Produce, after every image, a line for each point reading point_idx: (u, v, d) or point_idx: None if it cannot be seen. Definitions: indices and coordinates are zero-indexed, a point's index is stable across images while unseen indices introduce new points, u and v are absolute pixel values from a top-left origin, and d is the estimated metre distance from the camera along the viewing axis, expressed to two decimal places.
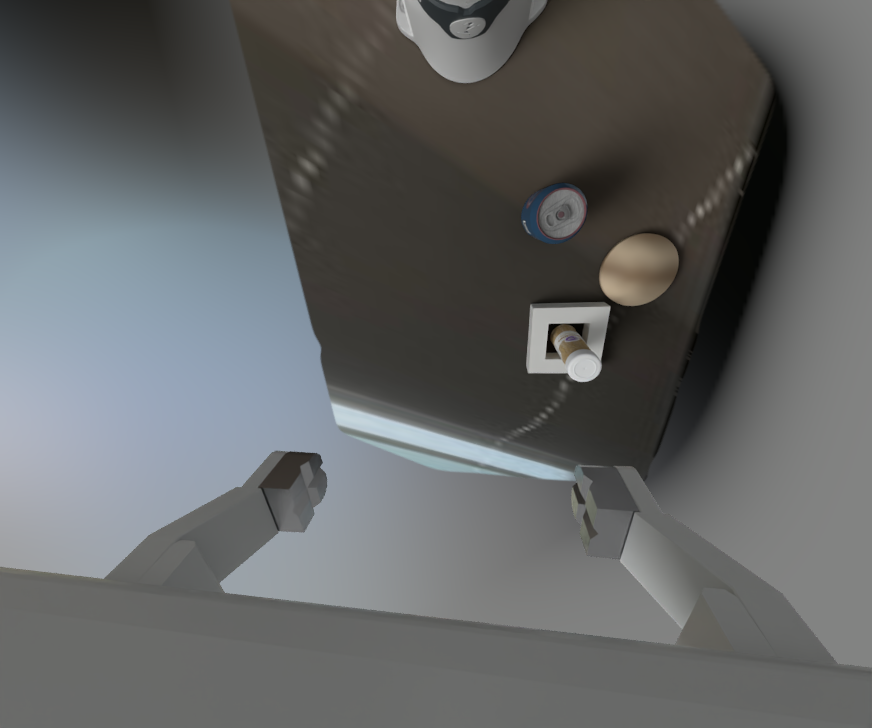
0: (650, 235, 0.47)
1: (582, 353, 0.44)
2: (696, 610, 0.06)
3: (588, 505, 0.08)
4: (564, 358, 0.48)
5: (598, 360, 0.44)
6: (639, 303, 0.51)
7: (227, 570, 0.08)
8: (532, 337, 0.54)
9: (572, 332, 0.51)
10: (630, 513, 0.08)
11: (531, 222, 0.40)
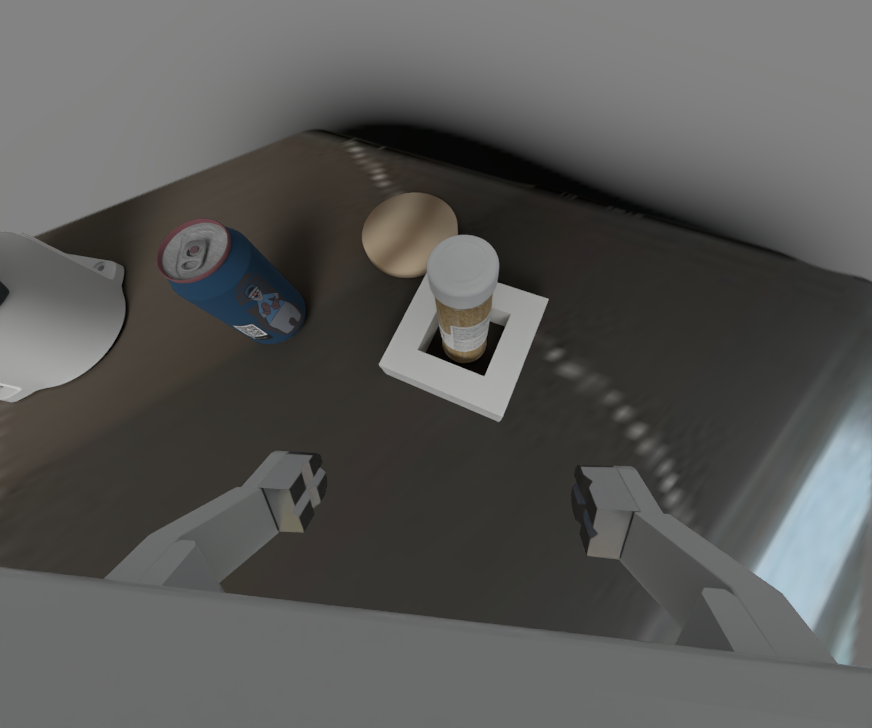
0: (371, 214, 0.37)
1: (427, 262, 0.20)
2: (696, 610, 0.06)
3: (588, 505, 0.08)
4: (449, 313, 0.22)
5: (454, 237, 0.20)
6: (454, 235, 0.35)
7: (227, 570, 0.08)
8: (429, 383, 0.28)
9: None
10: (630, 513, 0.08)
11: (189, 296, 0.24)
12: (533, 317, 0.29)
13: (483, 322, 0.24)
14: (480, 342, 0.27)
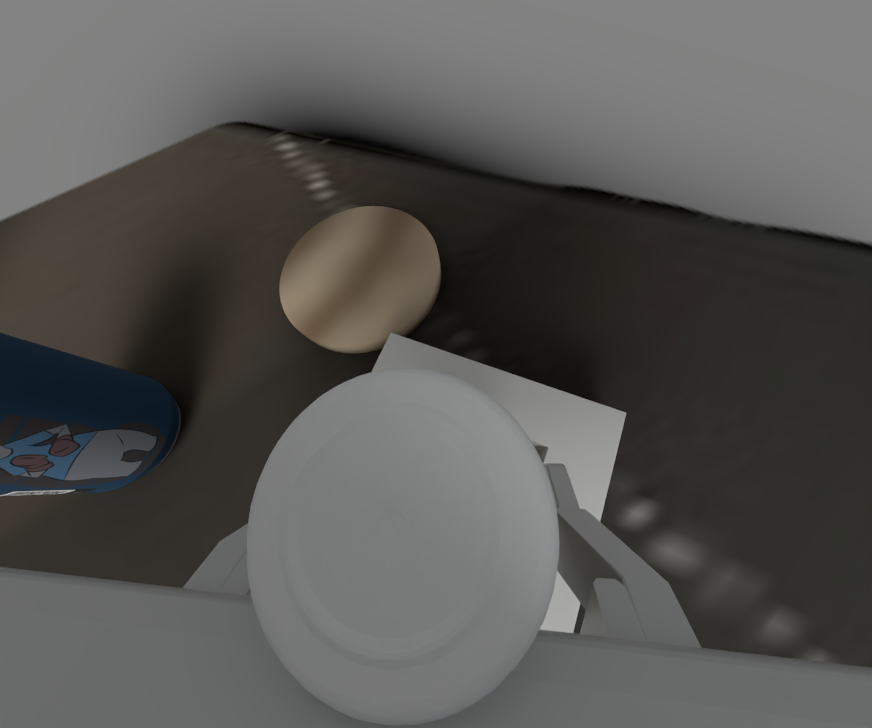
0: (297, 245, 0.22)
1: (259, 488, 0.05)
2: (590, 599, 0.06)
3: None
4: None
5: (365, 381, 0.05)
6: (433, 277, 0.20)
7: None
8: None
9: None
10: None
11: None
12: (596, 455, 0.14)
13: None
14: None
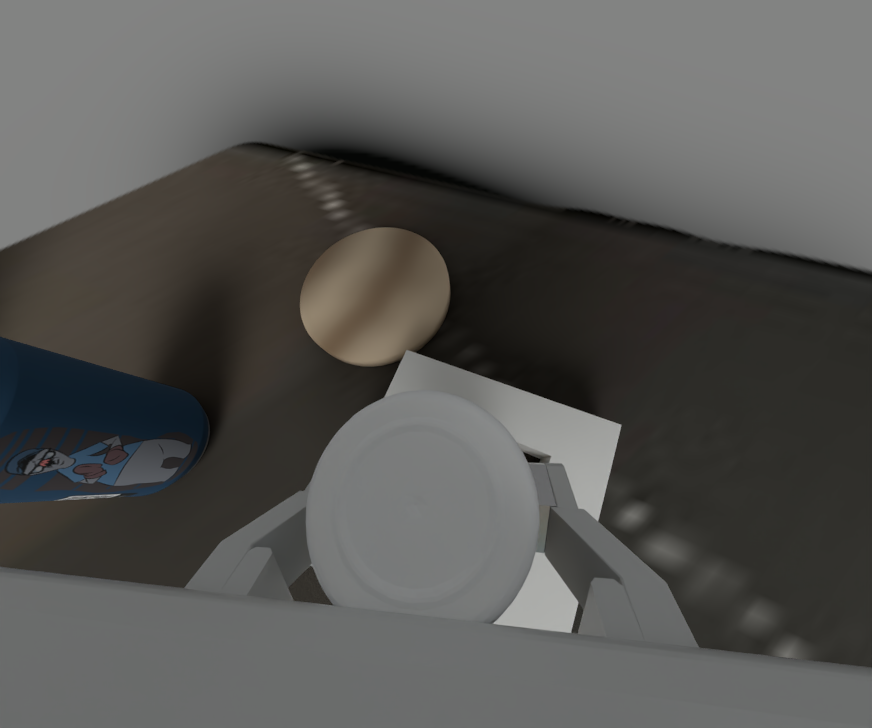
0: (316, 264, 0.24)
1: (310, 488, 0.06)
2: (588, 599, 0.06)
3: None
4: None
5: (389, 402, 0.07)
6: (444, 296, 0.22)
7: (292, 577, 0.08)
8: None
9: None
10: (550, 508, 0.08)
11: None
12: (595, 463, 0.15)
13: None
14: None
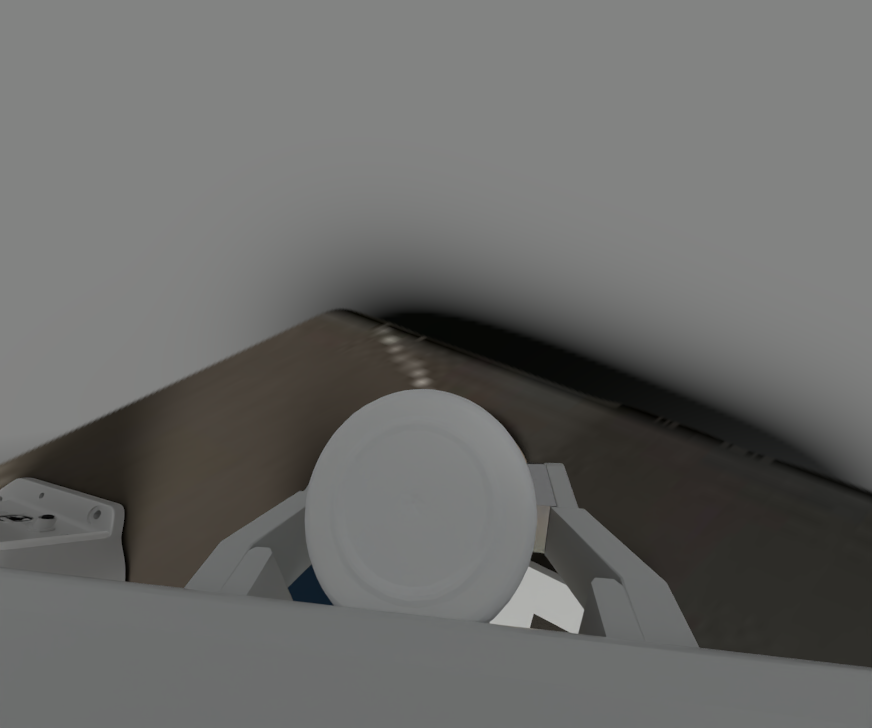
0: None
1: (310, 487, 0.06)
2: (589, 599, 0.06)
3: None
4: None
5: (388, 401, 0.07)
6: None
7: (292, 577, 0.08)
8: None
9: None
10: (550, 508, 0.08)
11: None
12: None
13: None
14: None
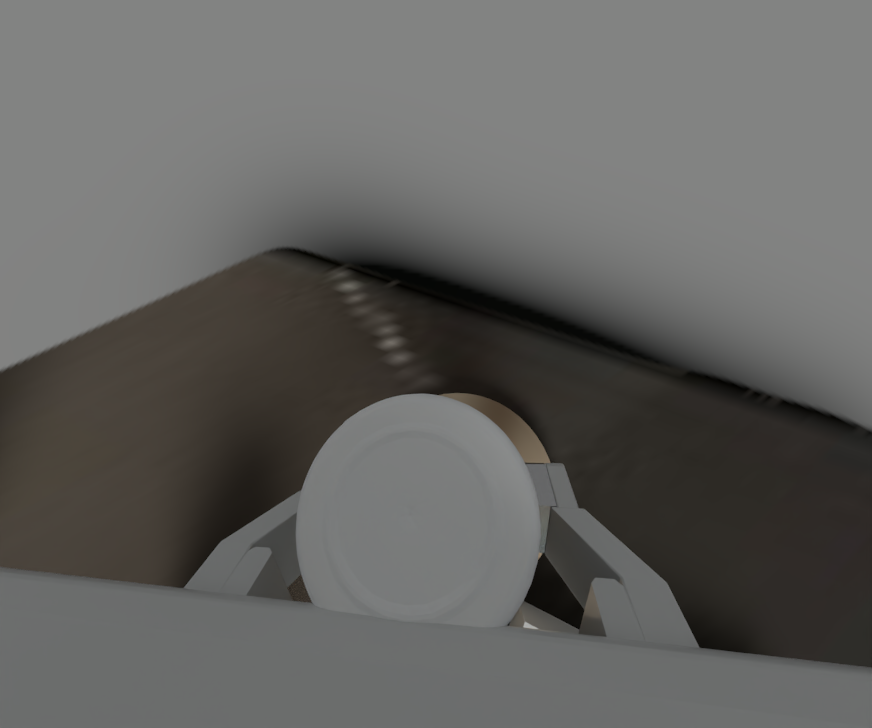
0: None
1: (301, 497, 0.06)
2: (589, 599, 0.06)
3: None
4: None
5: (383, 406, 0.06)
6: None
7: (292, 577, 0.08)
8: None
9: None
10: (550, 508, 0.08)
11: None
12: None
13: None
14: None
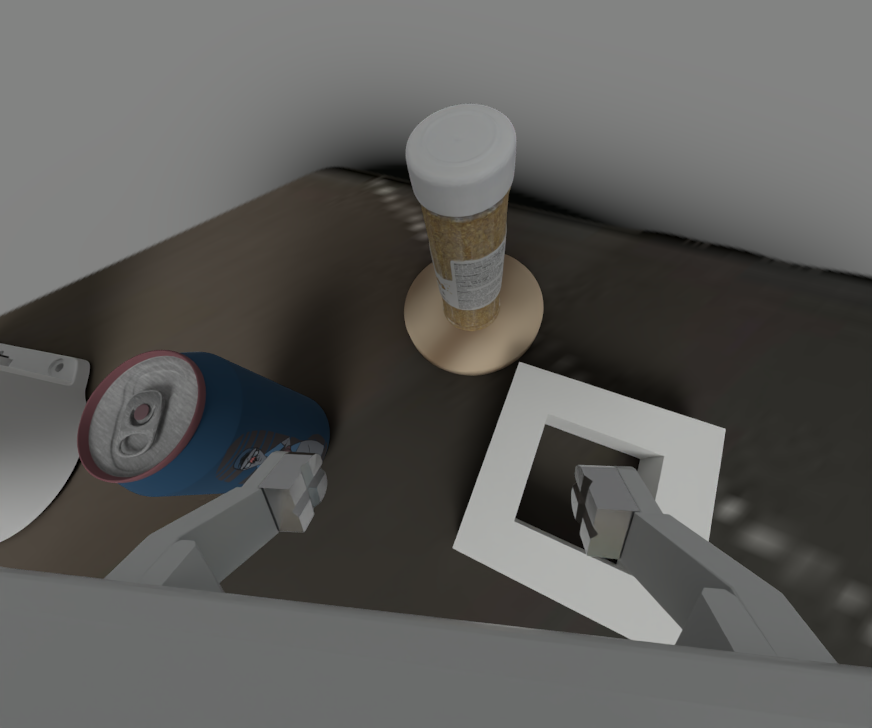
0: (415, 282, 0.27)
1: None
2: (696, 610, 0.06)
3: (588, 505, 0.08)
4: (447, 235, 0.15)
5: (443, 109, 0.13)
6: (539, 312, 0.24)
7: (227, 570, 0.08)
8: (543, 589, 0.17)
9: None
10: (630, 513, 0.08)
11: (136, 492, 0.14)
12: (705, 463, 0.17)
13: (496, 253, 0.17)
14: (493, 293, 0.20)
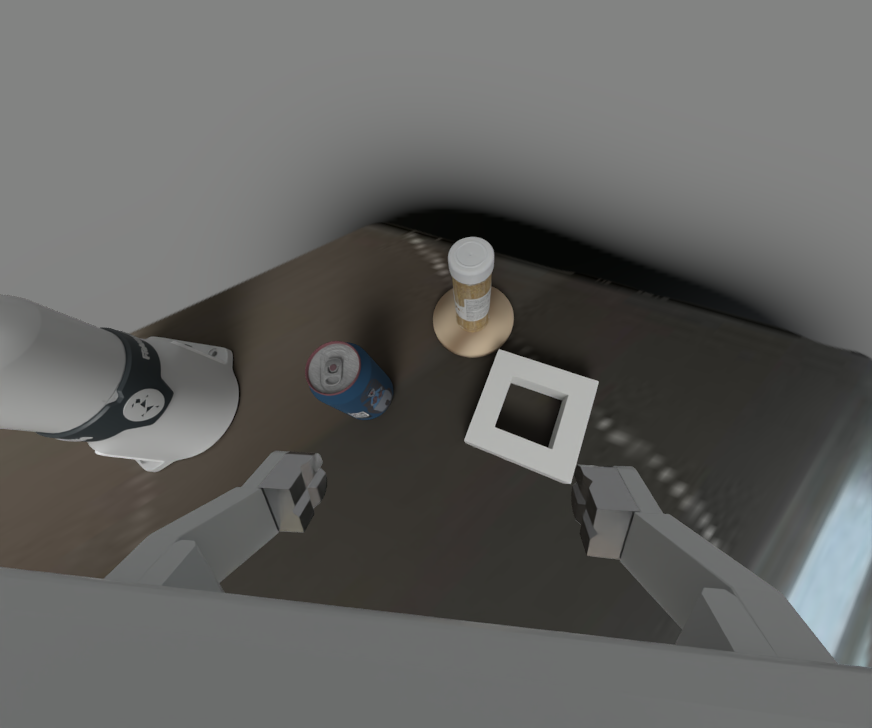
0: (439, 303, 0.45)
1: (448, 256, 0.31)
2: (696, 610, 0.06)
3: (588, 505, 0.08)
4: (464, 289, 0.33)
5: (463, 239, 0.31)
6: (511, 321, 0.42)
7: (227, 570, 0.08)
8: (508, 456, 0.35)
9: None
10: (630, 513, 0.08)
11: (329, 402, 0.32)
12: (587, 397, 0.36)
13: (486, 295, 0.35)
14: (485, 312, 0.38)
